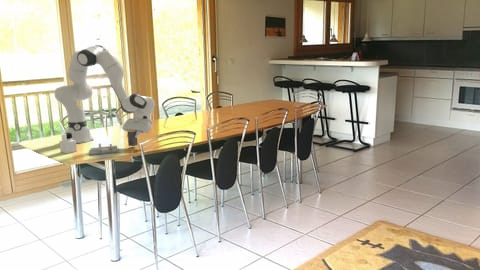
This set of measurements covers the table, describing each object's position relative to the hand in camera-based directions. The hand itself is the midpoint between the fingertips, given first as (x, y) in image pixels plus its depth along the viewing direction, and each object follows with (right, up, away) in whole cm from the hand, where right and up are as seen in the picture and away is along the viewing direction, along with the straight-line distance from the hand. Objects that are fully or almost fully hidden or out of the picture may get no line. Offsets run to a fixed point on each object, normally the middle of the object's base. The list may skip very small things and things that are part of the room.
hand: (131, 137), depth 270 cm
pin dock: (-16, -9, -5) cm, 19 cm away
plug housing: (0, -5, +2) cm, 5 cm away
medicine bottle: (-38, -9, -4) cm, 40 cm away
